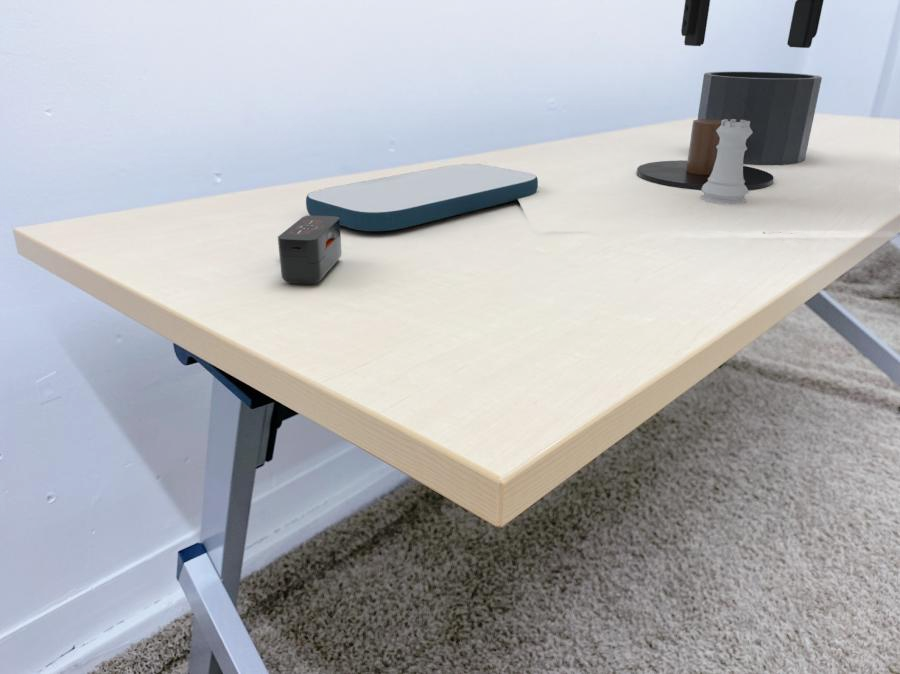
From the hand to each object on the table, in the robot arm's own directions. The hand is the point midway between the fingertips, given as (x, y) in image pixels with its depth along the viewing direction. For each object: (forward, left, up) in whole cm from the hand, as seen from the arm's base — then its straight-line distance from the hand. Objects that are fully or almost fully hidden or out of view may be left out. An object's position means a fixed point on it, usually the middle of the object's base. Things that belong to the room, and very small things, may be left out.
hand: (746, 46), depth 64 cm
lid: (-2, -11, -14) cm, 18 cm away
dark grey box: (+38, +19, -15) cm, 45 cm away
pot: (-13, -25, -15) cm, 32 cm away
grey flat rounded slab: (+29, 0, -15) cm, 32 cm away
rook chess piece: (0, 0, -15) cm, 15 cm away
